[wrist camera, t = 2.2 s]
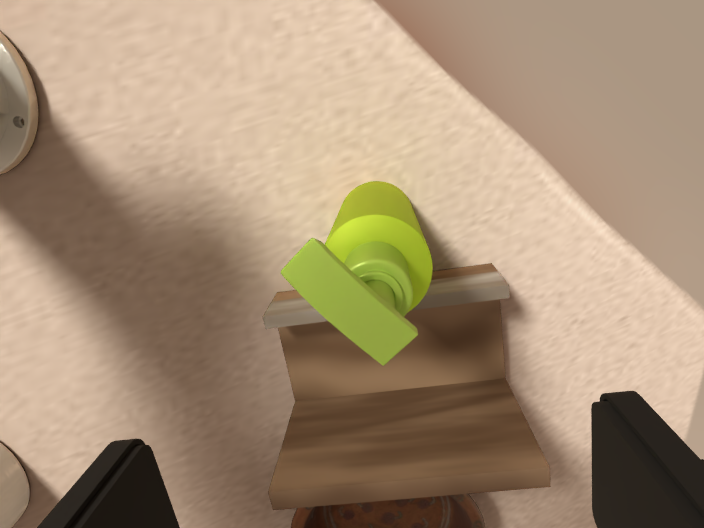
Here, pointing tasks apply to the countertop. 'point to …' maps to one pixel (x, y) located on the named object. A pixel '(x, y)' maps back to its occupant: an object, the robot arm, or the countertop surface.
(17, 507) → the utensil holder
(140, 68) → the countertop surface
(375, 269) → the soap dispenser
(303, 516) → the dish
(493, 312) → the board
